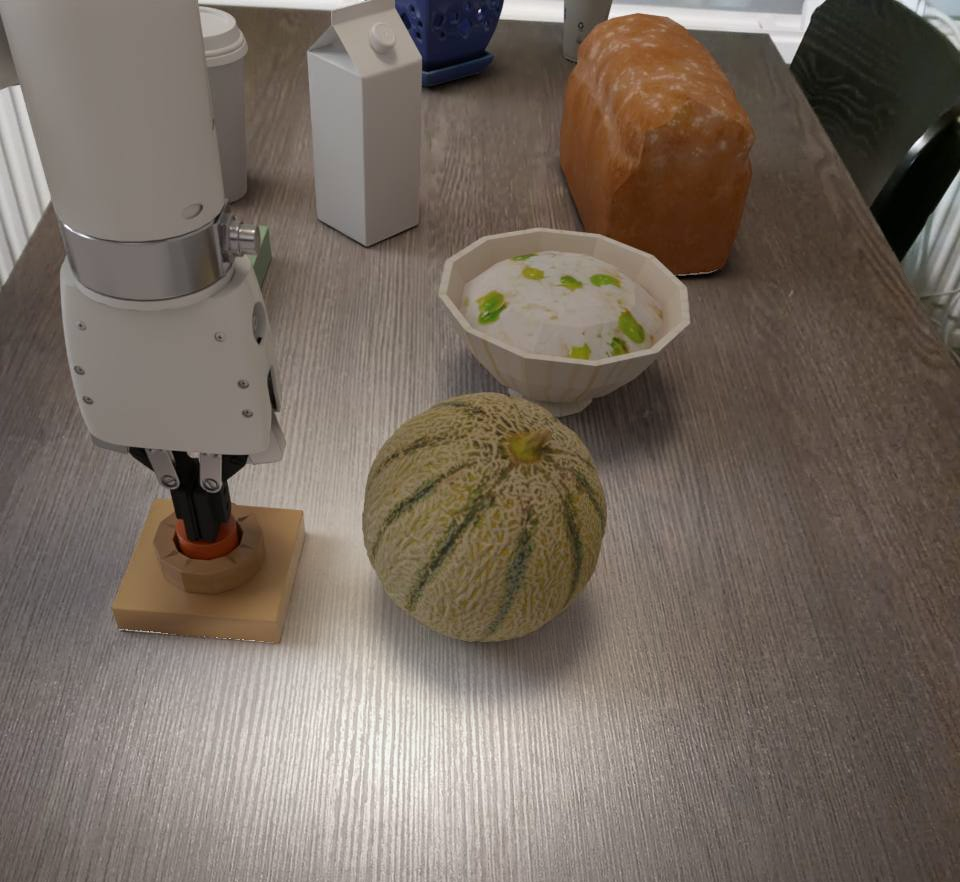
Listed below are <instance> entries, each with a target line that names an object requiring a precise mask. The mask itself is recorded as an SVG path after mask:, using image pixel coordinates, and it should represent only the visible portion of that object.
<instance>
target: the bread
mask: <svg viewBox="0 0 960 882" xmlns="http://www.w3.org/2000/svg"><path fill="white" fill-rule="evenodd" d="M561 115H562V116H561V123H560V131H559V138H558V139H559V142H558V143H559V162H560V163H559V165H560V168H561V170H562V172H563V174H564V177H565V180H566V182H567V186H568V188H569V191H570V193H571V196H572V199H573V202H574V203H575V206H576V209H577V213H578V214H579V215H578V216H579V217H580V219H581V222H582V225H583V229H584V233H593V234H600V235H603V236H605V237H608V238H610V239H613V240H616V241H618V242H621V243H623V244H626V245H628V246H631V247H633V248H636V249H638V250H641V251H643V252H646V253H648V254H651V255H653V256H654V257H655V258H657V259H658V260H659V261H660V262H661V263H662V264H663V265H664V266H665V267H666V268H667V269H668V270H669V271H670V272H671V273H672V274H673V275H678V274H690V273H699V272H710V271H714V270H717V269H720V268H723V267H724V268H725V265H726V263H727V260H728V258H729V257H730V253H731V251H732V249H733V246H734V244H735V241H736V239H737V237H738V234H739V231H740V226H741V222H742V217H743V214H744V210H745V207H746V203H747V198H748V194H749V190H750V186H751V182H752V178H753V165H752V161H751V159H750V153H751V150H752V148H753V146H754V144H755V141H756V139H757V136H756V133H755V131H754V128H753V125H752V123H751V121H750V117H749V116H748V113H747V112H746V108H745V107H743V106H741V104H740V102H739V100H738V97H737V94H736V91H735V89H734V87H733V86H732V85H731V83H730V81H729V79H728V78H727V76H726V74H725V72H724V71H723V69H722V68H721V66H720V65H719V63H718V62H717V60H716V59H715V58H714V56H713V55H712V54H711V53H710V51H709V50H708V49H707V48H706V46H705V45H704V44H702V43H701V42H700V41H698V40H697V39H695V37H694V36H693V35H692V34H691V33H690V32H689V31H688V29H687V28H686V27H685V26H684V25H682V24H681V23H678V22H677V21H675V20H674V19H672V18H670V17H668V16H663V15H656V14H649V13H642V12H641V13H640V12H636V13H630V14H626V15H621V16H615V17H612V18H608V20H607V21H604V22H602V23H600V24H598V25H596V26H595V27H594V29H593V30H592V31H591V32H590V34H589V35H588V36H587V37H586V38H585V40H584V41H583V42H582V43H581V45H580V46H579V47H578V58H577V63H576V65H575V66H574V67H573V69H572V70H571V72H570V73H569V75H568V78H567V82H566V87H565V92H564V98H563V107H562V114H561ZM724 268H723V269H724Z"/></svg>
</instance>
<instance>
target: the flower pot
mask: <svg viewBox="0 0 960 882" xmlns="http://www.w3.org/2000/svg"><path fill="white" fill-rule="evenodd" d="M364 1H366V0H364ZM504 4H505V0H395V9H396V10H397V12H398V14H399V16H400V18H401V20H402V21H403V23H404V25H405V27H406V29H407V31H408V32H409V34H410V36H411V38H412V40H413V42H414V43H415V45H416V47H417V49H418V51H419V53H420V55H421V57H422V87H425V86H426V87H427V88H429V86H431V87H433V86H438V85H440V84H444V83H449V82H453V81H455V80H460V79H463V78H466V77H470V76H474V75H473V74H476V75H478V74H479V73H480V74H481V72H483V71H485V70H486V69H487V68H488V67H489V66H490V65H491V64H492V63H493V61H494V59H495V54H494V53H492V52H490V51H488V50H486V49H487V47H488V46H489V44H490V42H491V40H492V38H493V37H494V33H495V32H496V29H497V26H498V24H499V21H500V18H501V15H502V10H503V8H504ZM477 73H478V74H477Z"/></svg>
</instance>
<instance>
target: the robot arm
mask: <svg viewBox="0 0 960 882" xmlns="http://www.w3.org/2000/svg"><path fill="white" fill-rule="evenodd" d="M199 6H200V5H199V0H0V91H1V90H4V89H7V88H10V87H16V86H19V87H20V91H21V94H22V99H23V101H24V105H25V110H26V112H27V116H28V120H29V124H30V127H31V130H32V134H33V138H34V141H35V145H36V149H37V151H38V156H39V160H40V163H41V167H42V172H43V174H44V177H45V178H44V179H45V182H46V185H47V188H48V191H49V195H50V200H51V203H52V207H53V211H54V214H55V217H56V221H57V225H58V228H59V232H60V236H61V239H62V243H63V247H64V250H65V254H66V255H65V257H64V260H63V262H62V264H61V266H60V270H59V285H60V286H59V289H60V290H59V291H60V306H61V317H62V327H63V329H62V330H63V337H64V344H65V349H66V356H67V362H68V366H69V371H70V377H71V381H72V386H73V389H74V393H75V397H76V401H77V404H78V405H77V406H78V408H79V411H80V414H81V416H82V419H83V422H84V425H85V427H86V428H87V430H88V431H89V433H90V434H91V438H90V439H91V442H92V443H93V445H95V446H96V447H98V448H101V449H105V450H109V451H112V452H116V453H120V454H124V455H128V454H129V455H130V456H131V457H133V459H135V460H136V461H138V462H139V463H140V464H141V465H143V466H145V467H146V468H147V469H149V470H150V471H152V472H154V474H155V476H156V478H157V481H158V483H159V484H160V486H161V487H163V488H164V489H167V490H169V493H170V498H171V500H172V502H173V506H174V510H175V514H176V518H177V519H182V520H183V522H184V527H185V531H186V535H187V539H188V540H192V541H197V540H198V539H201V537H202V539H205V541H206V542H215V540H216V537H217V534H218V531H219V528H220V525H221V523H228V521H229V519H230V515H231V503H232V499H231V494H230V487H229V481H228V480H230V479H231V478H232V477H233V476H235V475H236V474H237V473H238V472H239V471H241V470H242V469H243V468H245V467H246V465H249V464H251V465H252V466H254V465H255V466H256V465H262V464H263V465H264V464H271V463H278V462H280V461H282V460H283V457H284V453H285V450H286V448H287V440H286V437H285V434H284V432H283V430H282V428H281V425H280V423H279V420H278V417H277V415H276V413H280V412H281V409H282V402H283V388H282V387H283V386H282V380H281V373H280V368H279V362H278V355H277V351H276V346H275V342H274V336H273V333H272V328H271V324H270V319H269V315H268V310H267V308H266V304H265V300H264V297H263V293H262V289H261V287H260V286H259V283H258V280H257V277H256V275H255V272H254V269H253V267H252V264H251V262H250V259H249V258H248V257H247V255H259V252H260V245H261V237H260V229H259V227H258V226H259V225H258V226H255V225H256V224H247V225H244V224H245V223H244V222H243V221H242V220H237V219H236V217H235V215H234V212H232V208H231V203H230V200H229V199H227V198H225V197H224V188H223V180H222V173H221V166H220V158H219V151H218V143H217V136H216V129H215V121H214V114H213V107H212V100H211V92H210V85H209V78H208V70H207V63H206V55H205V48H204V41H203V33H202V26H201V19H200V11H199ZM245 254H246V255H245ZM192 453H199V457H193V456H191V455H192Z"/></svg>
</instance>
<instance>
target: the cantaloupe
mask: <svg viewBox="0 0 960 882" xmlns="http://www.w3.org/2000/svg"><path fill="white" fill-rule="evenodd" d="M364 488H365V489H364V496H363V498H364V500H363V501H364V502H363V510H362V514H361V525H362V526H361V529H362V530H361V531H362V534H363V545H364V548H365V550H366V556H367V558H368V560H369V563H370V565H371V567H372V568H373V570H374V572H375V574H376V576H377V578H378V580H379V582H380V585H381V588H383V590H384V591H385V593H386V594H387V596H388V597H389V599H391V600H392V601H393V602H394V603H395V604H396V605H397V606H398V607H399V608H400V609H401V610H402V611H404V612H406V613H408V614H409V615H411V616H412V617H413V618H414V619H415V620H416V621H418V622H419V623H420V624H422V625H423V626H424V627H426V628H428V629H430V630H431V631H434V632H435V633H437V634H440V635H442V636H444V637H447V638H450V639H453V640H461V641H465V642H475V641H476V642H479V643H488V642H497V643H498V642H503V641H509V640H512V639H513V640H514V639H517V638H521V637H524V636H526V635H528V634H530V633H534V632H535V631H538V630H539V629H540V628H542V627H543V626H544V625H546V624H547V623H548V622H550V621H551V620H553V619H554V618H555V617H556V616H559V615H560V614H562V613H563V612H564V611H565V610H566V609H567V608H569V607H570V606H571V605H572V604H573V602H574V601H575V600H576V599H577V598H579V596H580V594H581V593H582V592H583V591H584V589H585V588H586V586H587V585H588V583H589V582H590V580H591V578H592V577H593V575H594V573H595V571H596V568H597V565H598V561H599V557H600V553H601V548H602V544H603V543H602V542H603V538H604V536H605V535H606V527H607V520H608V507H607V505H608V503H607V498H606V494H605V490H604V485H603V484H602V482H601V479H600V477H599V472H598V469H597V466H596V463H595V461H594V459H593V457H592V455H591V453H590V451H589V449H588V447H587V446H586V445H585V444H584V442H583V441H582V440H581V439H580V437H579V435H578V434H577V433H576V432H574V430H572V429H570V428H569V427H568V426H566V425H565V424H564V423H562V422H561V421H560V420H559V419H558V417H556V416H553V415H552V414H551V413H550V412H549V411H548V410H546V409H544V408H543V407H541V406H539V405H537V404H534V403H532V402H529V401H527V400H525V399H520V398H516V397H513V396H511V395H507V394H504V393H499V392H494V391H493V392H492V391H491V392H490V391H488V392H485V391H484V392H483V391H482V392H481V391H480V392H474V393H466V394H461V395H457V396H451V397H449V398H447V399H444V400H442V401H439V402H437V403H436V404H433V405H432V406H431V407H430V408H429V409H426V410H425V411H422V412H420V413H418V414H417V415H415V416H413V417H411V418H409V419H408V420H406V421H405V422H403V423H402V424H401V425H400V426H399V427H398V428H396V429H395V431H394V433H393V434H392V435H391V436H390V437H389V438H387V439H386V440H385V441H384V443H383V444H382V446H381V448H380V449H379V451H378V453H377V454H376V457H375V458H374V459H373V461H372V464H371V465H370V469H369V472H368V473H367V478H366V483H365V487H364Z"/></svg>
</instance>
